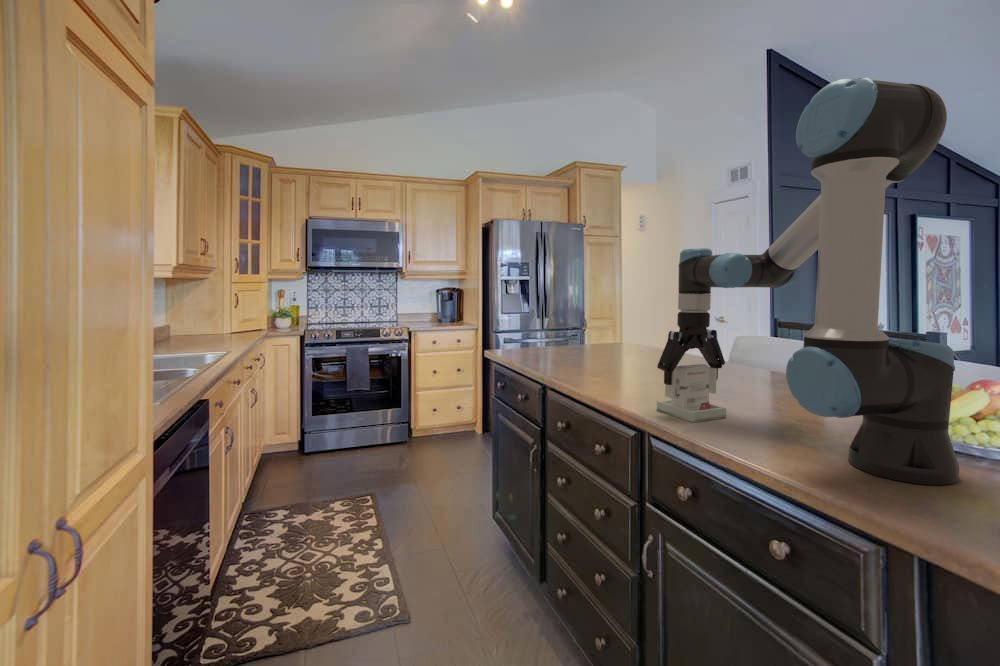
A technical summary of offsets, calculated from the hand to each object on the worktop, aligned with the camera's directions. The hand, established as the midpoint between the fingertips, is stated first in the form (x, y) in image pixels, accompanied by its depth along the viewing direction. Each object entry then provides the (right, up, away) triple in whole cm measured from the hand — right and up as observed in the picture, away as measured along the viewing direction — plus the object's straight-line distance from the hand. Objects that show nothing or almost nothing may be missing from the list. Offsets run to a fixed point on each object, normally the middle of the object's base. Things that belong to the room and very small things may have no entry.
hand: (690, 395), depth 124 cm
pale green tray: (0, -5, 0) cm, 5 cm away
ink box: (0, -4, 0) cm, 4 cm away
